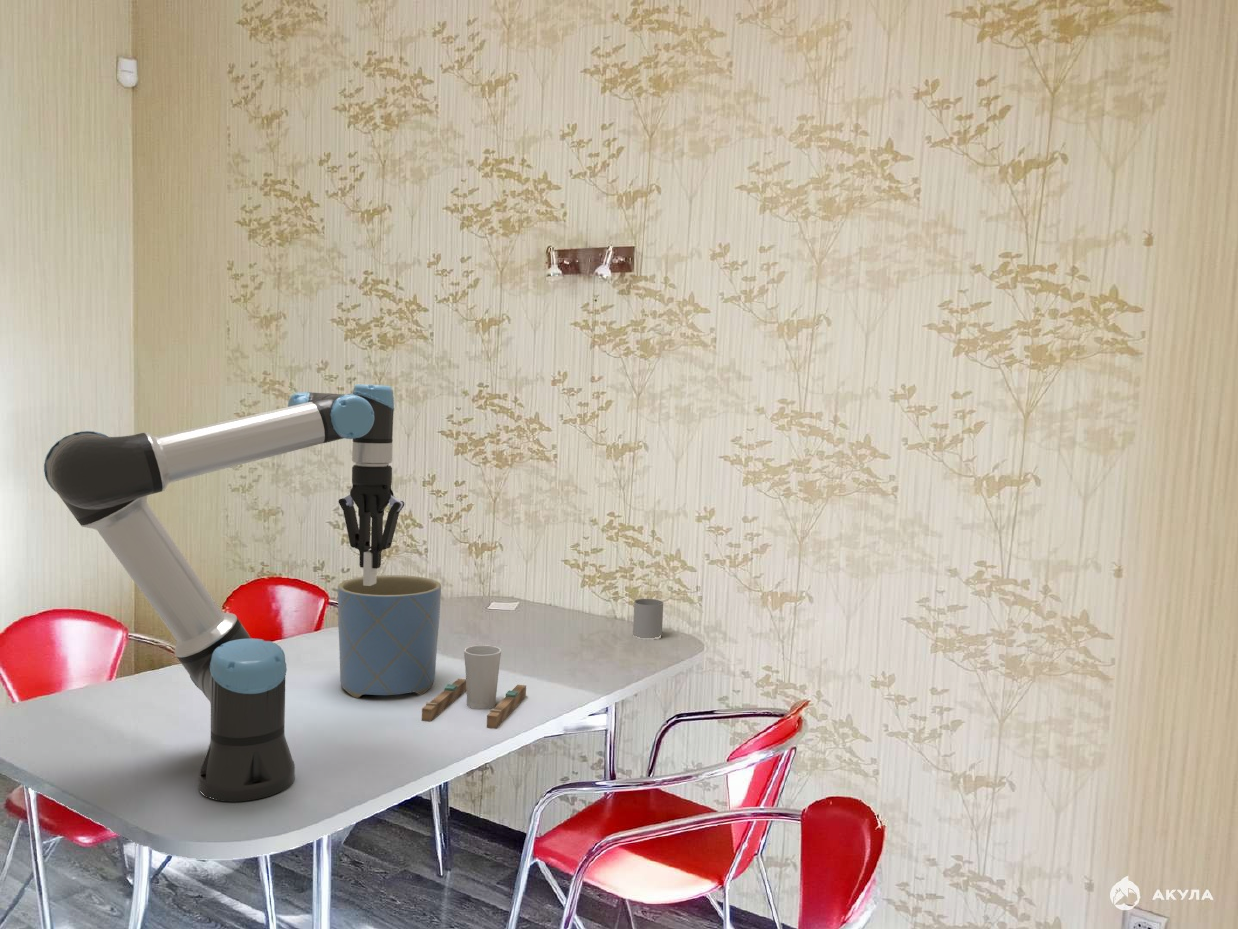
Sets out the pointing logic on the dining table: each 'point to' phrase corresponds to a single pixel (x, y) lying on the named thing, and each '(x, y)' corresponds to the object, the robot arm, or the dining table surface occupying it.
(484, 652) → the cup
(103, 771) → the dining table surface
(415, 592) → the planter
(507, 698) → the channel
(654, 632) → the cup
